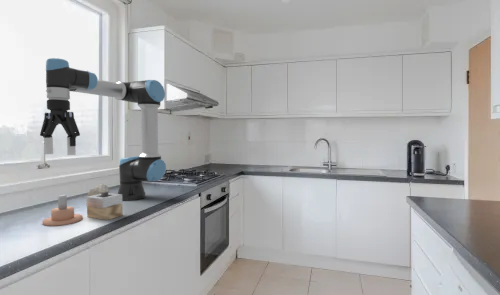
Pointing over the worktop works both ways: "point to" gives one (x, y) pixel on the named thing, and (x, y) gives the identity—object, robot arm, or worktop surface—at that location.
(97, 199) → the grey square stone block
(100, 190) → the stone
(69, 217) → the hub
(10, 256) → the worktop surface
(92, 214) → the stand
